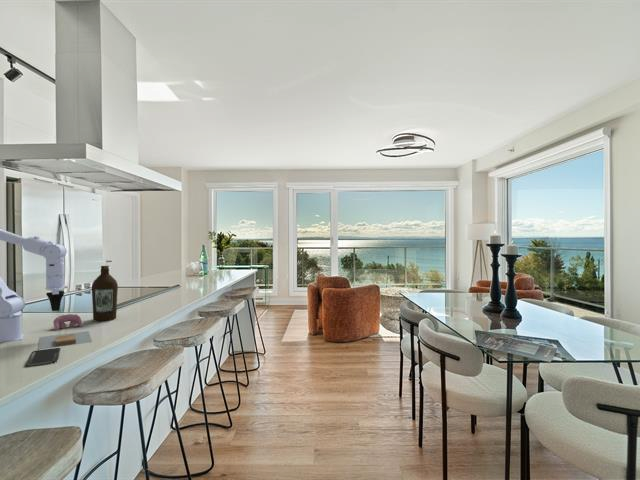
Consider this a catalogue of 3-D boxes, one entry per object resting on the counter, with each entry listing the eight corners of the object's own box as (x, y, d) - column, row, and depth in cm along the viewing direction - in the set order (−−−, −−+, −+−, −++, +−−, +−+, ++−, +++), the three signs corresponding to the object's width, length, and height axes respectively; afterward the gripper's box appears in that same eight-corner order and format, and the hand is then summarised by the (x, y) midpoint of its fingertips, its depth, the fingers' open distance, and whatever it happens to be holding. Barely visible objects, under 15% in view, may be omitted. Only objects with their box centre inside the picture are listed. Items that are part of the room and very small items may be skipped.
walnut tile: (55, 336, 137) (55, 341, 130) (74, 334, 140) (75, 339, 134) (55, 340, 137) (55, 346, 131) (74, 338, 141) (75, 343, 134)
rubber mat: (39, 338, 141) (39, 337, 141) (88, 332, 151) (88, 331, 151) (37, 350, 127) (37, 349, 127) (92, 342, 136) (92, 341, 136)
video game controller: (81, 329, 160) (79, 314, 162) (83, 326, 157) (81, 310, 159) (53, 333, 153) (51, 317, 155) (55, 330, 150) (53, 314, 152)
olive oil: (92, 317, 176) (92, 265, 175) (118, 315, 180) (118, 264, 180) (90, 322, 166) (90, 267, 166) (117, 320, 171) (117, 266, 170)
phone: (25, 364, 111) (32, 350, 124) (25, 368, 111) (32, 354, 124) (57, 360, 115) (61, 347, 128) (57, 364, 115) (61, 350, 128)
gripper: (68, 276, 139) (68, 312, 139) (67, 273, 150) (67, 306, 151) (45, 277, 134) (45, 315, 135) (45, 274, 146) (45, 308, 146)
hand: (55, 310), depth 142 cm, fingers closed
